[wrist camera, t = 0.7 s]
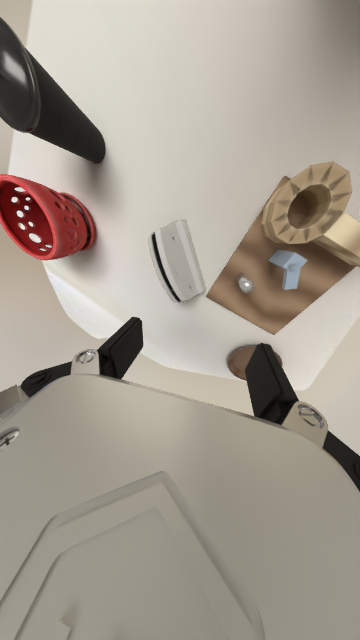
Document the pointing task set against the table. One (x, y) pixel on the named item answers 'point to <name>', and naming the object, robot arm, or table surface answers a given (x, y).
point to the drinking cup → (42, 102)
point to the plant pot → (44, 219)
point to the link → (316, 212)
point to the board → (276, 275)
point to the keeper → (288, 267)
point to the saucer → (243, 361)
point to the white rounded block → (176, 261)
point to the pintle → (244, 283)
